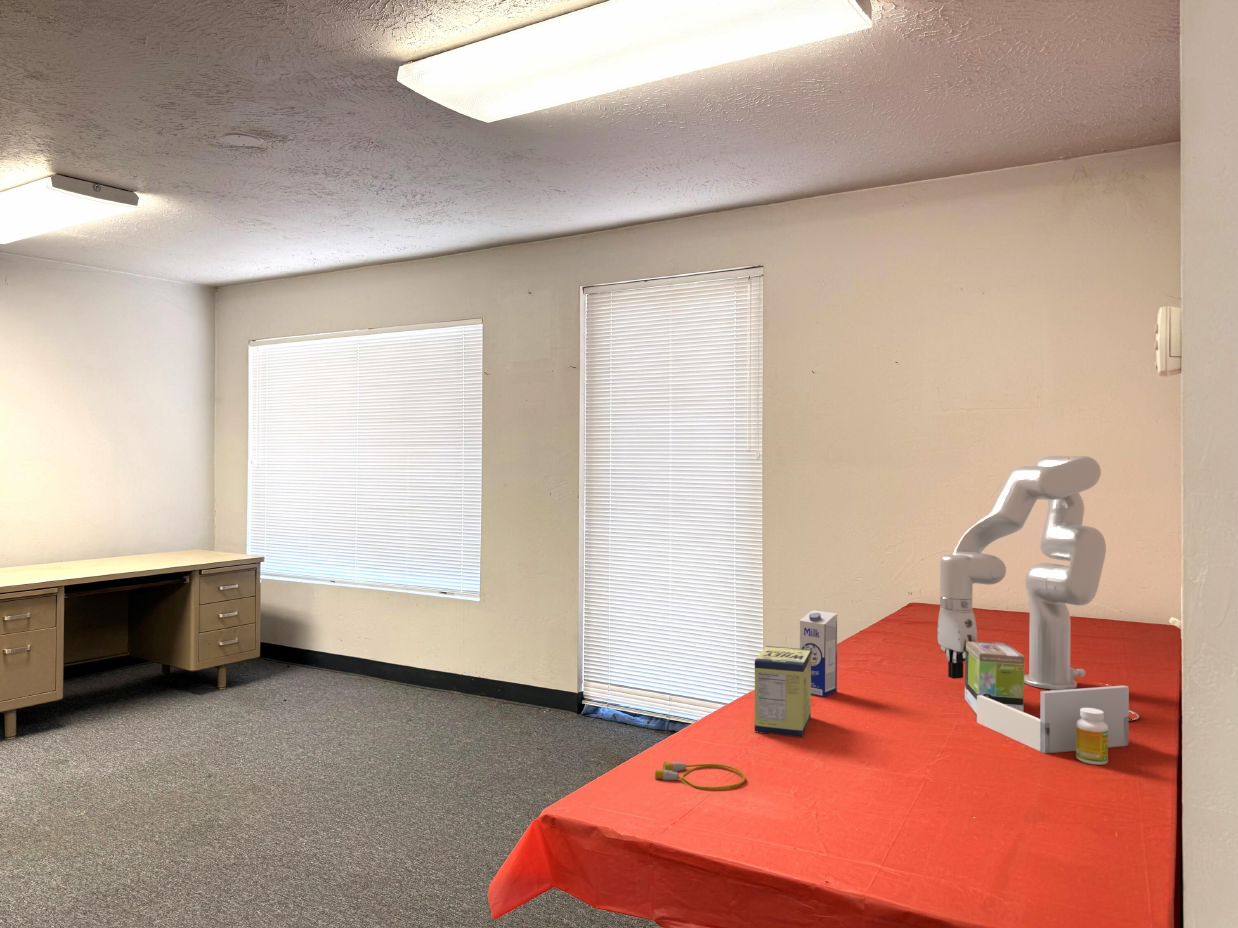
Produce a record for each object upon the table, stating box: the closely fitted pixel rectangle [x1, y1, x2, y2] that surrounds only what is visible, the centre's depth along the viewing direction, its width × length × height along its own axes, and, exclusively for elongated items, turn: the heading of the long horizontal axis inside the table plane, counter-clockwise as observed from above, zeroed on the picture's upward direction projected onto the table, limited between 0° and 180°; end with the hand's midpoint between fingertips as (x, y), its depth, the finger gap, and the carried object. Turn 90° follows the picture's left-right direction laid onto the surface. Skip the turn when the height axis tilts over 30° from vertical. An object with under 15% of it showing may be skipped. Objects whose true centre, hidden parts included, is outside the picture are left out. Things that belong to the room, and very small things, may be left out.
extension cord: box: [654, 761, 746, 791], centre depth 150 cm, size 12×16×2 cm
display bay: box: [976, 685, 1130, 754], centre depth 176 cm, size 20×20×12 cm
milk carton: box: [798, 609, 838, 698], centre depth 207 cm, size 7×7×20 cm
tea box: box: [964, 641, 1025, 715], centre depth 193 cm, size 15×10×15 cm
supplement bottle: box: [1075, 708, 1109, 766], centre depth 160 cm, size 5×5×10 cm
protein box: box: [754, 645, 812, 738], centre depth 181 cm, size 10×16×16 cm
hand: (955, 677), depth 206 cm, fingers closed
